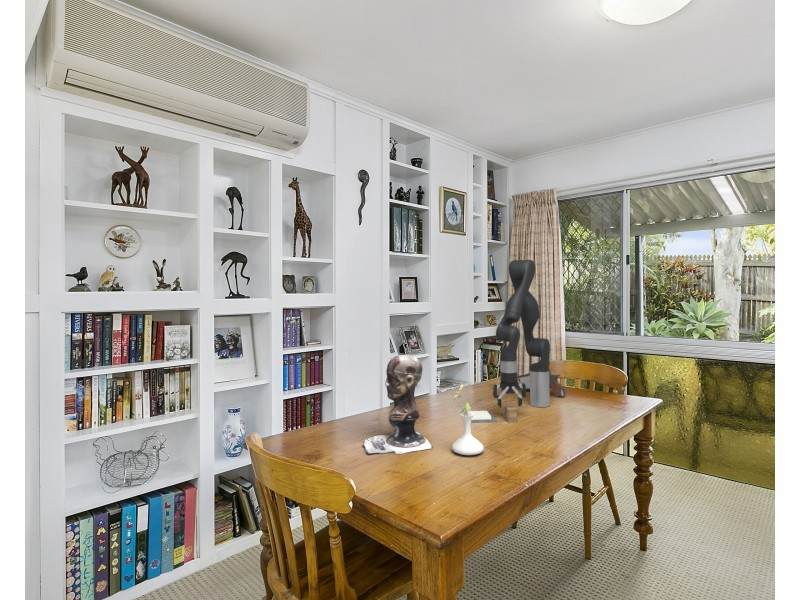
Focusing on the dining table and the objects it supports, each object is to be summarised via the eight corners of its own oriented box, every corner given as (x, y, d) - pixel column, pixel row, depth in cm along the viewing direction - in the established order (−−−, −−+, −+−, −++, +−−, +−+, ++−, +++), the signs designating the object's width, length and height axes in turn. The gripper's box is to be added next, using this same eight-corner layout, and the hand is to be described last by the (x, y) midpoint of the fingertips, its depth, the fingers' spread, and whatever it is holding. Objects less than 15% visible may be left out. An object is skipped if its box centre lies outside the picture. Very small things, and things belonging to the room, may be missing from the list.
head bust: (354, 438, 176) (361, 350, 176) (413, 436, 185) (420, 351, 185) (370, 458, 156) (378, 358, 156) (435, 455, 165) (443, 360, 165)
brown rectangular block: (503, 416, 204) (503, 403, 204) (510, 416, 204) (510, 403, 204) (508, 423, 194) (508, 409, 194) (516, 423, 194) (516, 409, 194)
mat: (460, 413, 210) (460, 412, 210) (490, 413, 210) (490, 412, 210) (465, 422, 196) (465, 421, 196) (497, 421, 196) (497, 420, 196)
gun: (526, 400, 257) (520, 374, 260) (567, 394, 236) (560, 366, 239) (521, 401, 254) (514, 375, 257) (562, 396, 233) (554, 367, 236)
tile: (467, 411, 206) (470, 416, 197) (486, 410, 206) (491, 416, 197) (467, 415, 206) (470, 420, 197) (487, 414, 206) (491, 420, 197)
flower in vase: (462, 444, 169) (461, 378, 168) (489, 450, 161) (488, 381, 161) (443, 454, 158) (441, 384, 158) (471, 462, 151) (469, 388, 151)
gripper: (522, 368, 203) (523, 403, 203) (491, 369, 203) (492, 404, 203) (527, 371, 195) (528, 408, 196) (494, 372, 195) (495, 409, 196)
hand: (509, 406), depth 200 cm, fingers open, 8 cm apart
